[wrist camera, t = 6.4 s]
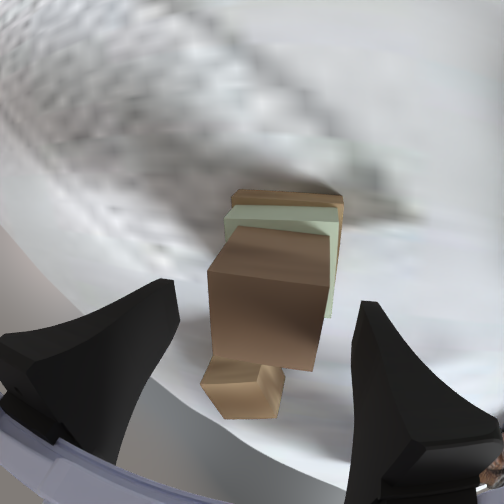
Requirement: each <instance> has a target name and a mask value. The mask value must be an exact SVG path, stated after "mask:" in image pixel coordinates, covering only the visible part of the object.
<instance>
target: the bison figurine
mask: <svg viewBox="0 0 504 504" xmlns="http://www.w3.org/2000/svg"><path fill="white" fill-rule="evenodd" d="M502 437H503V440H504V432H503V433H502ZM479 477H480V485H479V486H482V485H484V484H487V488H489V489H496V488H499V487H503V486H504V448H503V450H502V452H501V454H500V455H499V456H498V458H497V459H496V460H495V461H494V462H493V463H492V464H491V465H489V466H488V467H487V468H486V469H485V470H484V471H483V472H482V473H480V474H479ZM479 486H478V487H479Z"/></svg>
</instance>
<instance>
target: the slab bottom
mask: <svg viewBox="0 0 504 504" xmlns="http://www.w3.org/2000/svg"><path fill="white" fill-rule="evenodd" d="M231 203H232V208H233V207H234V206H235V205H277V206H310V207H335V208H337V209H338V218H339V231H338V247H337V261H336V271H337V264H338V256H339V247H340V238H341V229H342V219H343V209H344V202H343V197H342V196H339V195H327V194H314V193H300V192H284V191H266V190H245V189H239V190H238V191H237V192H236V193H235V194H234V195H233V196H232V197H231ZM335 279H336V273H335ZM334 286H335V284H334Z"/></svg>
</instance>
